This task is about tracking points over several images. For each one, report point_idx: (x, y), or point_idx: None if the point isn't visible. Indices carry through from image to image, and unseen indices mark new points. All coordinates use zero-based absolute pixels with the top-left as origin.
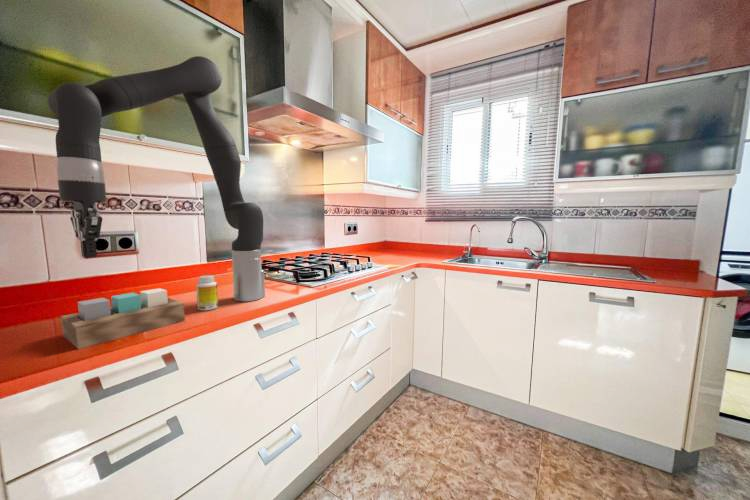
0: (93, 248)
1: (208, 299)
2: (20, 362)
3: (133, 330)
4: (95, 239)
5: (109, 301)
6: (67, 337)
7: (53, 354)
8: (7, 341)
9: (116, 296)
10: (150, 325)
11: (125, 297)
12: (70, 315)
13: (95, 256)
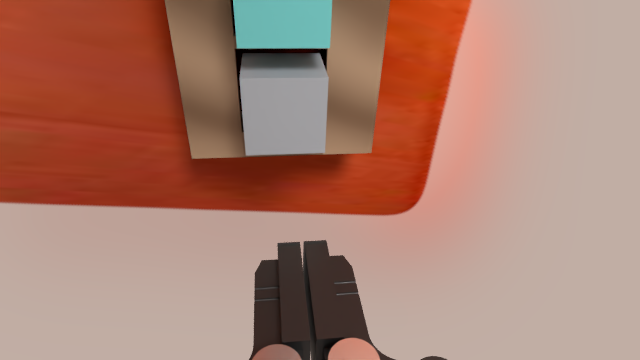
0: (357, 298)
1: None
2: (333, 199)
3: None
4: (374, 354)
5: (328, 77)
6: None
7: (341, 158)
8: (133, 206)
9: (265, 34)
10: None
11: (327, 14)
12: (206, 140)
13: (324, 242)
